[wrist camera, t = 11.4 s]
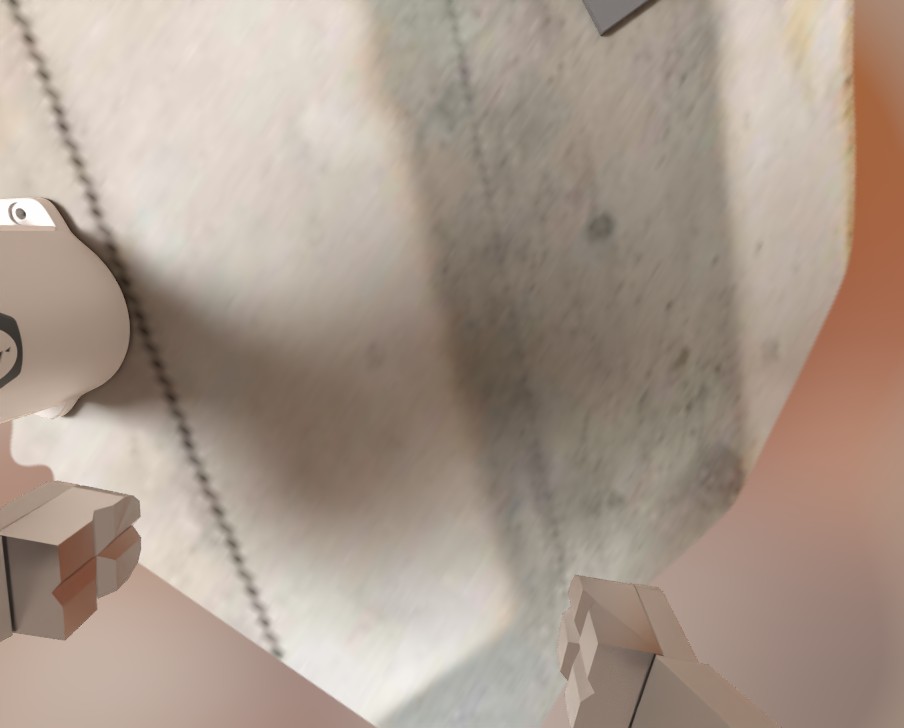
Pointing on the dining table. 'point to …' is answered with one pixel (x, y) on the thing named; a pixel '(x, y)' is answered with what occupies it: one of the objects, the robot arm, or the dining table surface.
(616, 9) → the mat
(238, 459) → the dining table surface
